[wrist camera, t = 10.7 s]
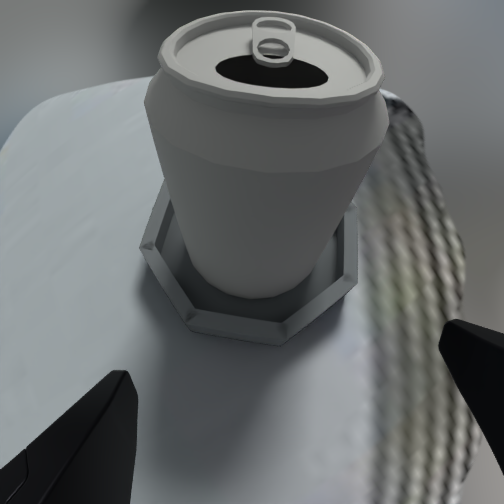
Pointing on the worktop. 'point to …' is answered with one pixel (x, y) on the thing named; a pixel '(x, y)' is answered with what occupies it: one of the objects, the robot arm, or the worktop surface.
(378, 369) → the worktop surface
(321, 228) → the can
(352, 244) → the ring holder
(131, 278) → the worktop surface
